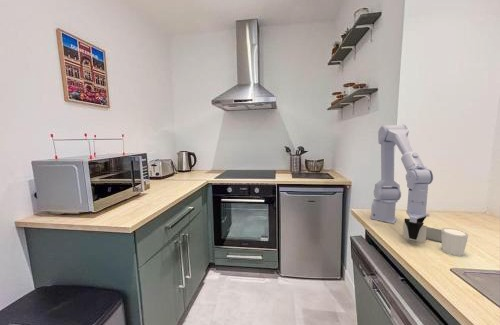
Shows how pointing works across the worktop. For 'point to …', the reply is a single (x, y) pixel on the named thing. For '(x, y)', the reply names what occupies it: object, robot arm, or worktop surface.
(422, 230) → the tile
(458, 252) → the white short cylinder
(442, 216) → the worktop surface
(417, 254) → the worktop surface
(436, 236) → the plate
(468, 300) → the worktop surface
